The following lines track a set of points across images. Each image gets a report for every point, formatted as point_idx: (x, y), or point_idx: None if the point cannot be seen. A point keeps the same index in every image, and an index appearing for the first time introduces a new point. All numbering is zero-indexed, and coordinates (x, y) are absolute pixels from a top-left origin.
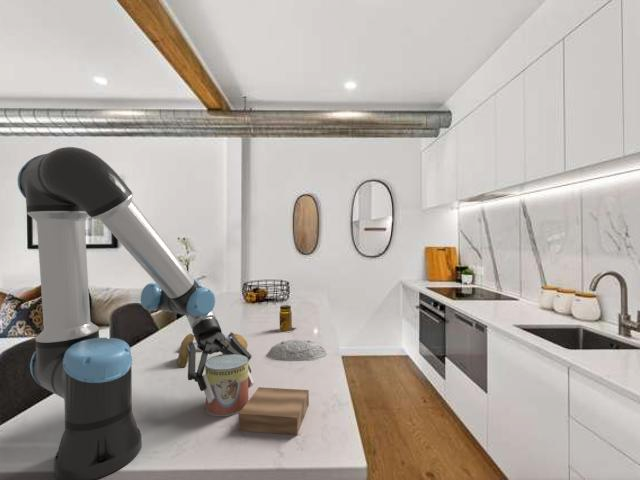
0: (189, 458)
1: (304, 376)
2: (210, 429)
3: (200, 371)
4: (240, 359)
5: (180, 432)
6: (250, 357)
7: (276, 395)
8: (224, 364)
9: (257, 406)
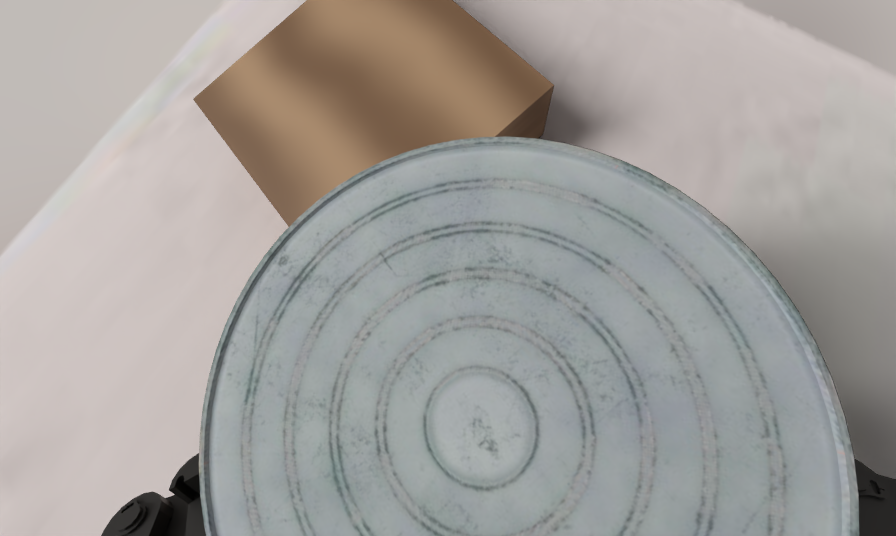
0: (773, 75)
1: (71, 371)
2: None
3: (859, 512)
4: (307, 359)
5: (773, 272)
6: (146, 498)
7: (322, 137)
8: (560, 333)
9: (450, 94)
